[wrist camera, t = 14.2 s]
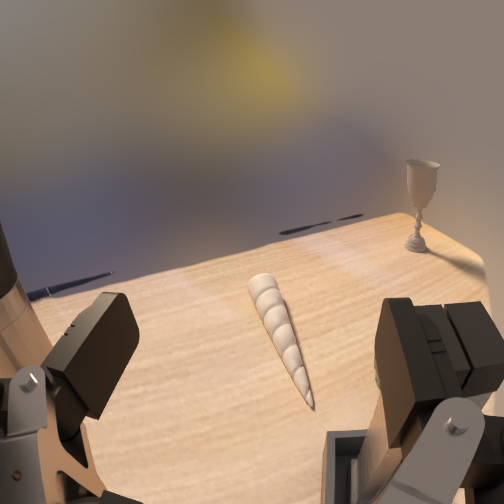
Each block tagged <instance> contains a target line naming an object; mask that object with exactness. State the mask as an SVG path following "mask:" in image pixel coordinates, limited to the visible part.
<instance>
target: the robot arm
mask: <svg viewBox="0 0 504 504" xmlns="http://www.w3.org/2000/svg"><path fill="white" fill-rule="evenodd" d="M138 343H139V328H138V325H137V323H136V320H135V318H134V315H133V312H132V310H131V307H130V304H129V302H128V299H127V297H126V295H125V294H123V293H113V292H102V293H101V294H100V295H99V296H98V297H97V298H96V300H95V301H94V302H93V303H92V305H90V306H89V307H88V308H86V309H85V310H84V311H82V312H81V313H80V314H79V315H78V316H77V317H76V318H75V320H74V321H73V322H72V323H71V327H68V329H67V330H66V331H65V333H64V335H62V337H61V338H60V339H59V340H58V342H57V343H56V345H55V346H54V347H53V345H52V344H51V342H50V340H49V338H48V336H47V335H46V333H45V331H44V329H43V327H42V325H41V323H40V321H39V320H38V318H37V316H36V314H35V312H34V310H33V307H32V305H31V303H30V301H29V299H28V297H27V295H26V293H25V291H24V288H23V286H22V284H21V282H20V279H19V277H18V275H17V272H16V270H15V268H14V265H13V262H12V258H11V255H10V252H9V248H8V244H7V241H6V238H5V235H4V232H3V229H2V226H1V223H0V504H143V503H142V502H139V501H136V500H133V499H130V498H127V497H124V496H121V495H118V494H115V493H112V492H110V491H107V489H106V487H105V485H104V484H103V482H102V481H101V480H100V478H99V476H98V474H97V472H96V469H95V465H94V461H93V457H92V453H91V449H90V444H89V440H88V435H87V431H86V427H85V424H84V423H83V422H82V421H83V420H84V418H85V416H87V417H90V418H93V419H97V420H99V418H100V416H101V414H102V412H103V410H104V408H105V406H106V404H107V402H108V400H109V398H110V396H111V395H112V393H113V391H114V389H115V387H116V385H117V383H118V381H119V379H120V377H121V375H122V374H123V372H124V370H125V368H126V366H127V364H128V362H129V360H130V359H131V357H132V355H133V353H134V351H135V349H136V348H137V346H138ZM375 359H376V364H377V370H378V376H379V381H380V388H381V394H382V400H383V407H384V414H385V422H386V430H387V438H388V447H389V449H392V448H400V447H401V454H402V459H401V460H400V461H399V463H398V464H397V466H396V467H395V469H394V470H393V472H392V473H391V475H390V476H389V477H388V479H387V480H386V482H385V483H384V484H383V486H382V487H381V488H380V490H379V491H378V492H377V494H376V495H375V496H374V498H373V499H372V500H371V502H370V503H369V504H451V503H452V500H453V498H454V496H455V495H456V493H457V491H458V489H459V488H464V490H465V501H466V504H504V417H497V416H488V415H484V414H483V413H482V411H481V410H480V408H479V407H478V406H477V405H476V404H475V403H473V402H472V401H470V400H468V399H465V398H464V396H463V394H462V391H461V388H460V385H459V382H458V379H457V376H456V373H455V371H454V368H453V365H452V362H451V360H450V357H449V354H448V353H447V349H446V347H445V344H444V342H442V337H441V334H440V332H439V330H438V327H437V325H436V324H435V323H434V322H433V321H432V320H431V319H430V318H429V317H428V316H427V315H426V314H419V315H417V313H416V311H415V308H414V306H413V303H412V301H411V299H410V298H385V299H384V300H383V303H382V308H381V313H380V318H379V323H378V328H377V332H376V337H375Z"/></svg>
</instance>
